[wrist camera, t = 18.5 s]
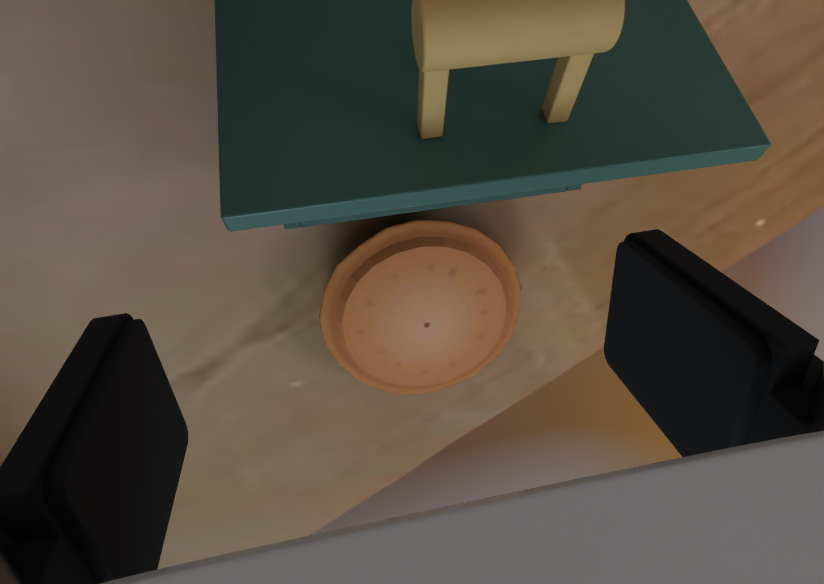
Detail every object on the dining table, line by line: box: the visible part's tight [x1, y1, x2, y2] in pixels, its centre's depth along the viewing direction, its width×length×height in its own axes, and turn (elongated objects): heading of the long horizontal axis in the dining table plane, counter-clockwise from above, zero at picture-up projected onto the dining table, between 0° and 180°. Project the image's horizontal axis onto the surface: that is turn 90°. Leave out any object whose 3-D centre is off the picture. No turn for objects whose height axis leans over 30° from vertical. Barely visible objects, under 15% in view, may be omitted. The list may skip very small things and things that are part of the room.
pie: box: [319, 220, 522, 395], centre depth 42 cm, size 15×16×5 cm
